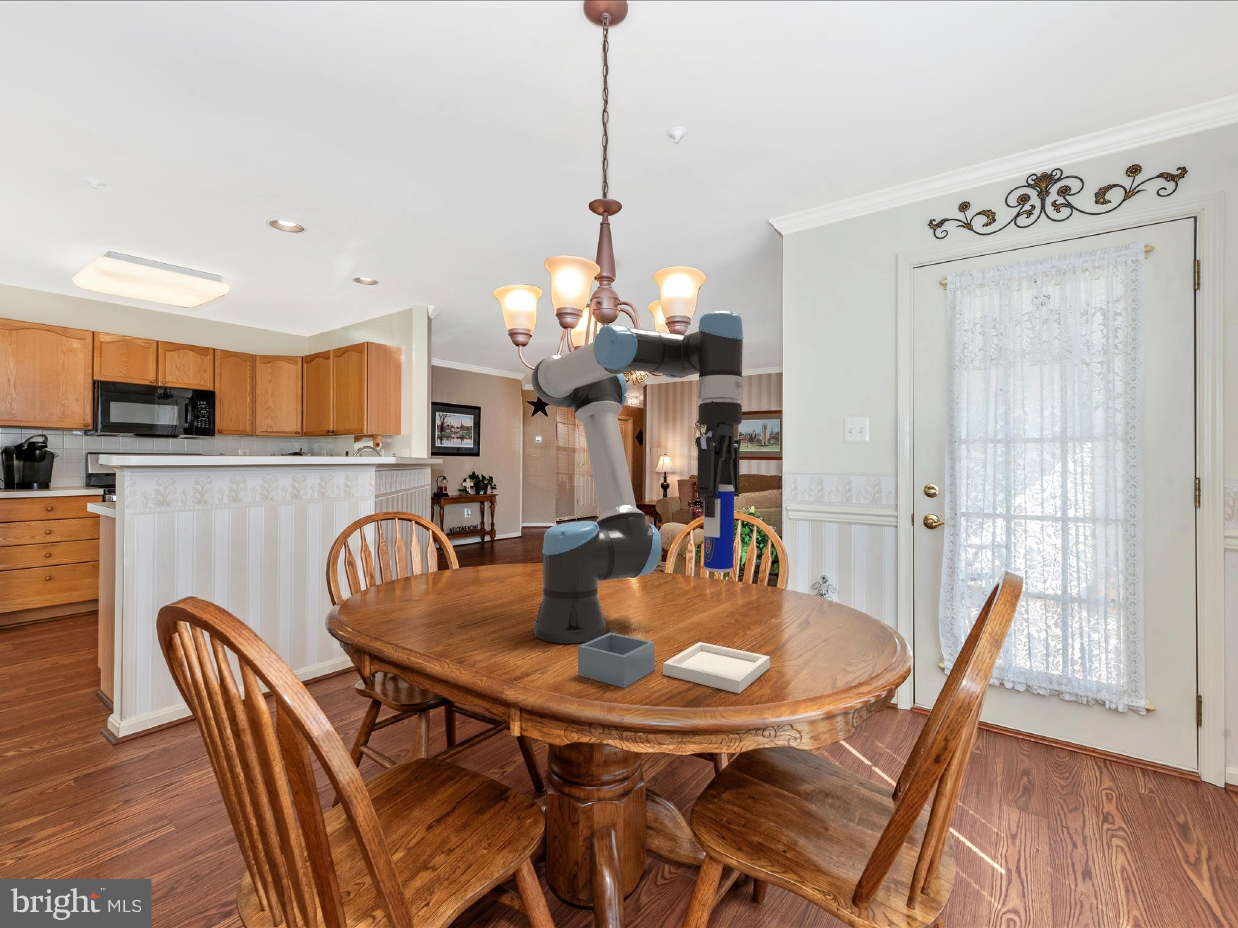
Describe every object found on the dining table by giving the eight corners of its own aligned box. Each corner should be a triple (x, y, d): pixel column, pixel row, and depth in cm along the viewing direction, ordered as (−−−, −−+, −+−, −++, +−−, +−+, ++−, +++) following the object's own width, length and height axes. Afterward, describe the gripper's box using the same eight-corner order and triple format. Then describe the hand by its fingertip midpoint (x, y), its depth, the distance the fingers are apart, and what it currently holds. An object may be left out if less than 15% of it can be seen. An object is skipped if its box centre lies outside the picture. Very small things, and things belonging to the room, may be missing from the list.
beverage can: (700, 567, 104) (701, 484, 103) (728, 567, 104) (729, 484, 104) (707, 572, 98) (708, 485, 98) (737, 572, 99) (738, 485, 99)
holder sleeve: (577, 675, 99) (578, 646, 99) (610, 659, 107) (610, 632, 107) (624, 687, 94) (624, 657, 94) (654, 670, 101) (654, 642, 101)
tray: (663, 674, 100) (663, 662, 100) (699, 652, 111) (699, 641, 111) (739, 693, 92) (739, 680, 92) (769, 667, 103) (769, 656, 103)
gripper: (718, 396, 91) (716, 542, 92) (759, 405, 106) (758, 531, 107) (676, 398, 96) (675, 538, 96) (721, 407, 111) (720, 528, 111)
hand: (718, 534), depth 101 cm, fingers closed on beverage can, 5 cm apart
